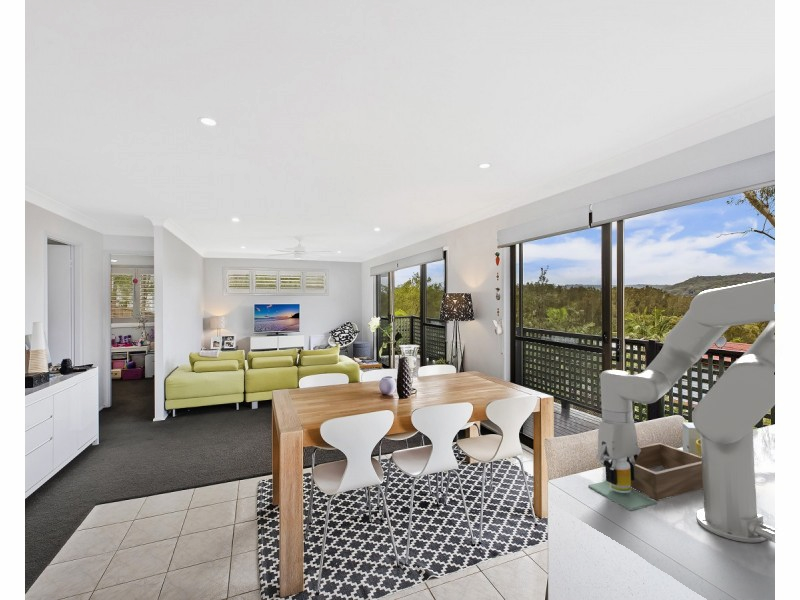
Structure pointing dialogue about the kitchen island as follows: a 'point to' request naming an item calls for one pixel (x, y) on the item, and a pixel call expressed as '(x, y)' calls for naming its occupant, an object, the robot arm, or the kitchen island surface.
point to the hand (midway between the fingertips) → (620, 479)
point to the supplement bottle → (622, 476)
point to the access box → (666, 471)
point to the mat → (623, 496)
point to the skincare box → (690, 438)
